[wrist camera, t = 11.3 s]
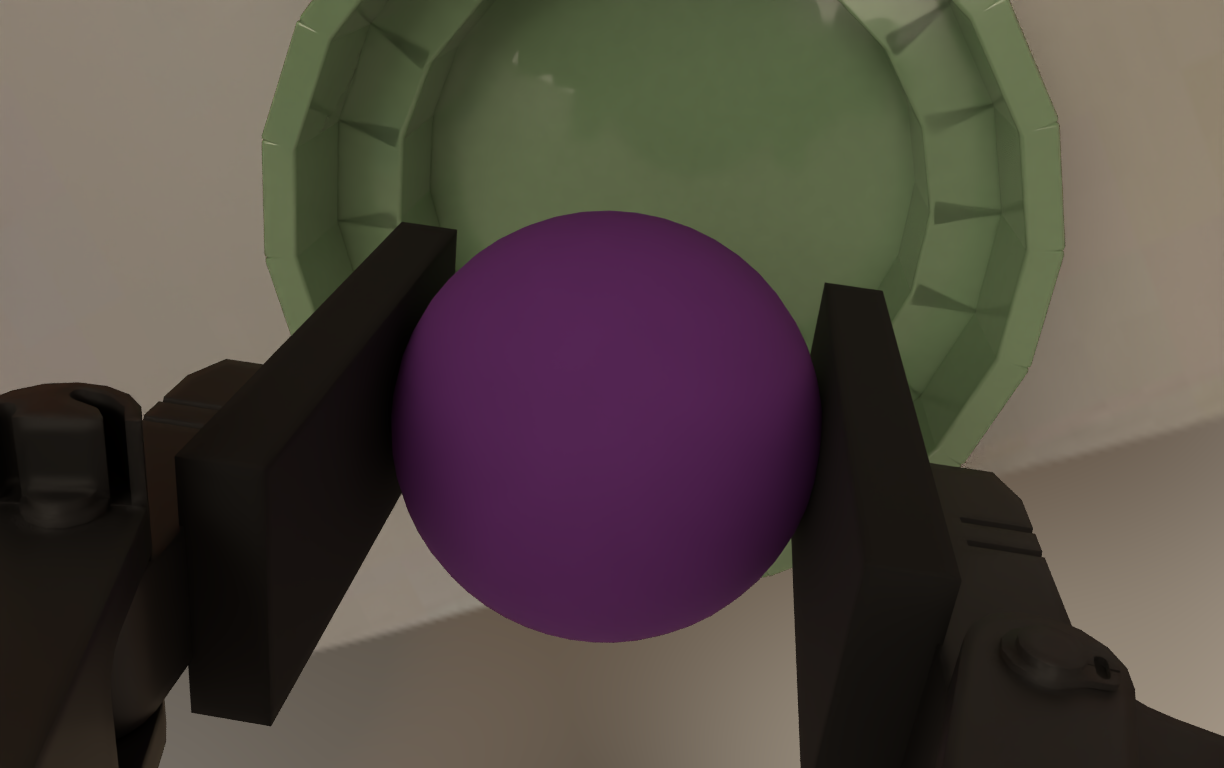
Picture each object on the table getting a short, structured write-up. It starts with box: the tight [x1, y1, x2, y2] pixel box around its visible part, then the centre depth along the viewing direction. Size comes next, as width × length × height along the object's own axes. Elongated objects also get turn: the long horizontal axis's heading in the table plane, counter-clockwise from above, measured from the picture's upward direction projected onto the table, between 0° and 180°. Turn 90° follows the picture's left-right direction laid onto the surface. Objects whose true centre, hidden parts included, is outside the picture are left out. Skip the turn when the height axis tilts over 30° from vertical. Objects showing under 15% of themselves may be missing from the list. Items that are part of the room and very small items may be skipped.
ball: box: [391, 210, 822, 643], centre depth 13 cm, size 5×5×5 cm
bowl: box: [262, 0, 1065, 578], centre depth 21 cm, size 13×13×5 cm
